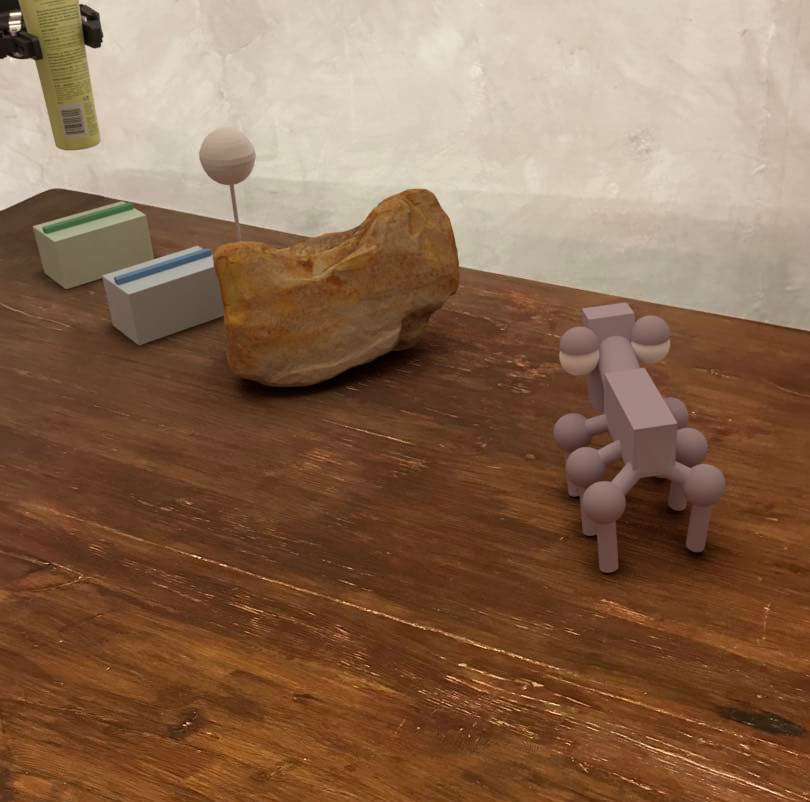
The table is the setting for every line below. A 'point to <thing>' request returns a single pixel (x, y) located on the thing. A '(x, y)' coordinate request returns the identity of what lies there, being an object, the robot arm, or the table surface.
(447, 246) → the orange sandstone rock
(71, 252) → the pale green box
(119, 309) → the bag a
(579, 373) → the mauve legged toy figure
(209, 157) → the lollipop
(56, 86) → the tube
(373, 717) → the table surface
